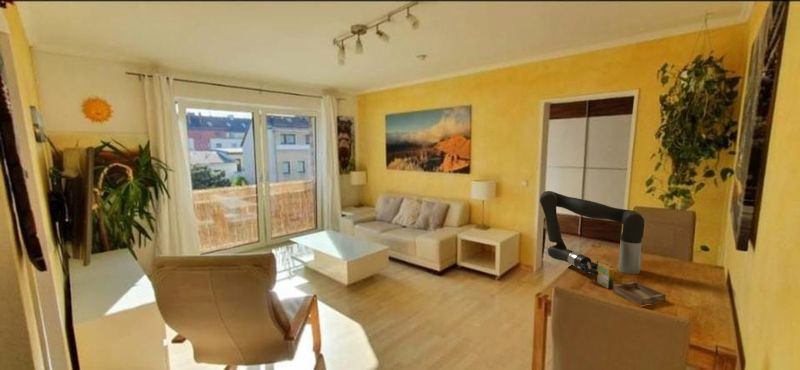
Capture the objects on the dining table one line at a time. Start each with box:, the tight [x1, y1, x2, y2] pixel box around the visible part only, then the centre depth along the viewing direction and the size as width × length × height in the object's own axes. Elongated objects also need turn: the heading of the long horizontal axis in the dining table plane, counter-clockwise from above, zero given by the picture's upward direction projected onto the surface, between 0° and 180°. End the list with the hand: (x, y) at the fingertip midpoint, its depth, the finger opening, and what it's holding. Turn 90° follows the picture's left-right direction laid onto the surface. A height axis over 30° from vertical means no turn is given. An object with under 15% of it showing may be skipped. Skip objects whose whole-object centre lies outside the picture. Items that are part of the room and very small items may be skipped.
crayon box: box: [596, 260, 615, 290], centre depth 162 cm, size 7×3×12 cm, turn 9°
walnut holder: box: [612, 280, 667, 305], centre depth 151 cm, size 14×14×4 cm
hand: (604, 272), depth 163 cm, fingers open, 8 cm apart
